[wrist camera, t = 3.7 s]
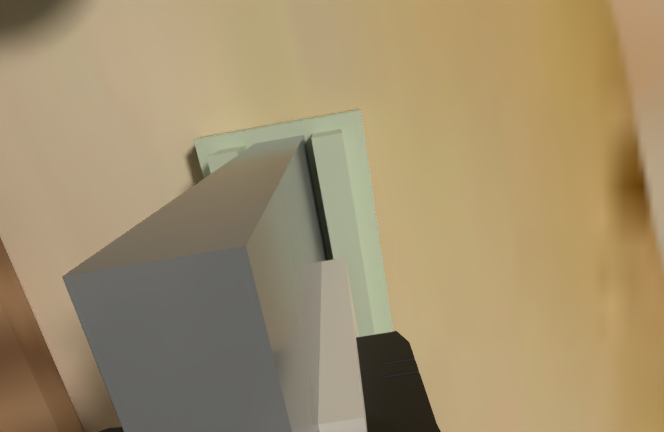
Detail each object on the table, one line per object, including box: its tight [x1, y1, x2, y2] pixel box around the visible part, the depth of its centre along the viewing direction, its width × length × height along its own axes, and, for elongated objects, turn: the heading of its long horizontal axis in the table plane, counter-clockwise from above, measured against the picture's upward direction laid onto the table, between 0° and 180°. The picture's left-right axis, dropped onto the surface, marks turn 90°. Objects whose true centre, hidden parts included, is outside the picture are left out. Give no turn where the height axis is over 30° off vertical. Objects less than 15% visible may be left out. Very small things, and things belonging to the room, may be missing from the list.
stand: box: [194, 109, 393, 337], centre depth 16 cm, size 11×6×3 cm, turn 10°
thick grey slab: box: [62, 135, 328, 432], centre depth 11 cm, size 10×2×11 cm, turn 10°
